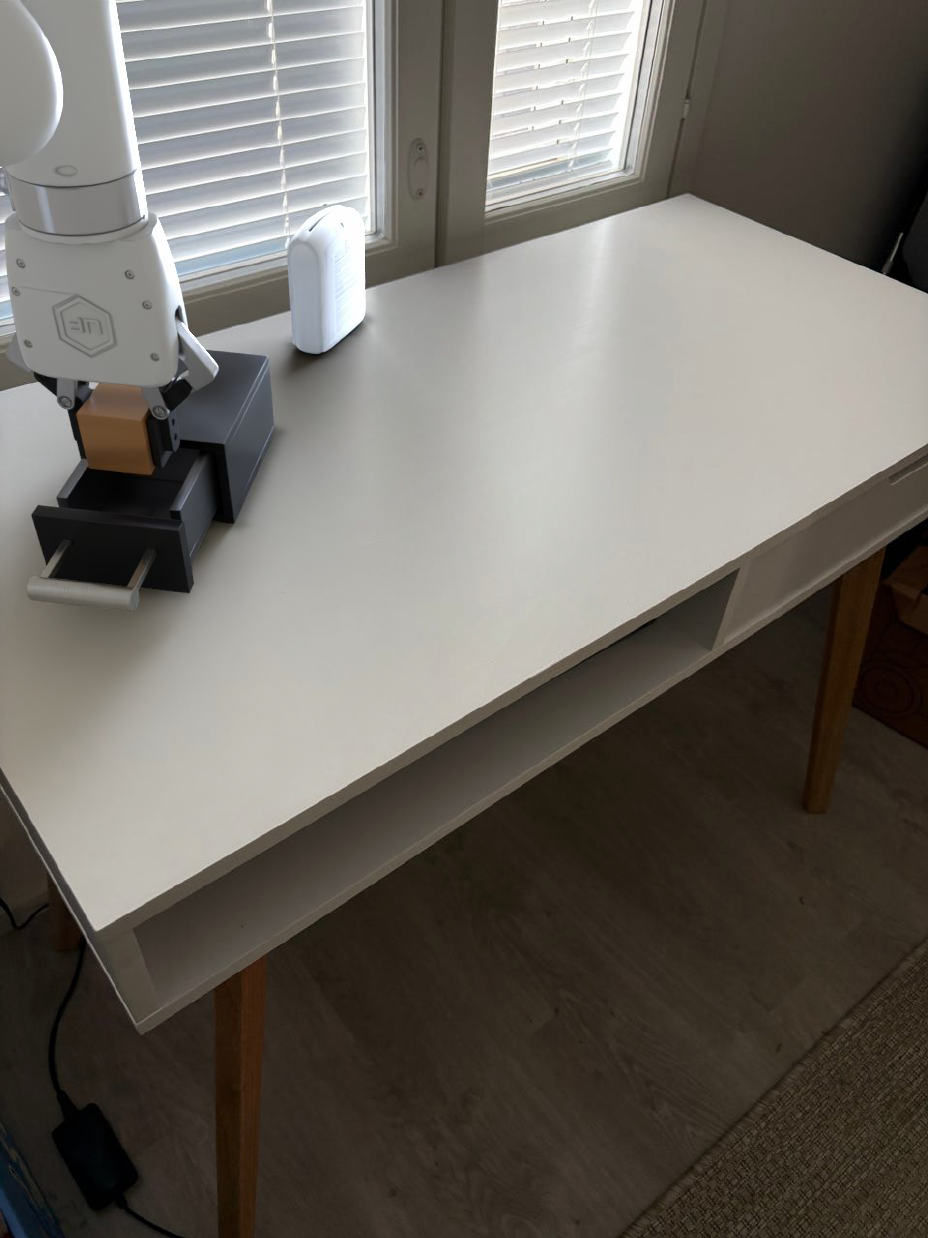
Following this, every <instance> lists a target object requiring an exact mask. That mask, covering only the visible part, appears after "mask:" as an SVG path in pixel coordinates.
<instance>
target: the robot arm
mask: <svg viewBox="0 0 928 1238" xmlns="http://www.w3.org/2000/svg"><path fill="white" fill-rule="evenodd" d="M130 97H131V95H130V90H129V83H128V76H127V70H126V64H125V57H124V51H123V44H122V37H121V29H120V24H119V18H118V11H117V3H116V0H0V193H3V194H4V195H5V196H6V195H7V196H9V200H10V204H11V209H12V211H13V212H14V213H12V214H10V215H8V216H7V217H6V219H5V220H4V250H5V252H4V253H5V267H6V277H7V286H8V294H9V298H10V299H9V300H10V306H11V312H12V313H11V314H12V317H13V324H14V328H15V333H14V335H13V337H12V338H11V340H10V342H9V344H8V345H7V347H6V350H5V352H4V354H5V357H6V358H7V360H8V361H10V362H11V363H13V364H15V365H16V366H18V367H19V368H20V369H22V370H23V371H25V372H26V373H28V374H32V375H33V377H34V379H35V380H36V381H37V382H38V383H39V384H40V385H41V386H42V387H44V388H45V389H47V390H48V392H50V393H51V394H52V395H54V396H55V397H56V402H57V404H58V406H59V407H60V408H62V409H64V410H67V415H68V419H69V423H70V428H71V431H72V436H73V438H74V441H75V442H77V441H78V442H79V446H80V450H81V455H82V458H83V459H87V458H86V453H85V449H84V445H83V441H82V436H81V432H80V428H79V423H78V419H77V415H76V414H77V412H78V411H79V409H80V408H81V407H82V405H83V404H84V403H85V401H86V400H87V399H88V397H89V396H90V394H91V393H92V392H93V390H94V389H95V388H91V387H90V383H95V384H97V383H98V384H99V383H105V384H114V385H124V386H134V387H140V388H141V390H142V393H143V395H144V397H145V400H146V402H147V404H148V407H149V409H150V414H149V416H148V418H147V420H146V426H147V432H148V437H149V443H150V448H151V454H152V459H153V464H154V465H155V467H162V468H163V467H164V466H165V464H166V462H167V461H168V459H169V457H170V455H171V454H172V452H176V451H177V449H178V447H179V444H180V434H179V428H178V421H177V415H176V409H175V408H176V407H177V406H178V405H179V404H181V403H182V402H183V401H184V400H185V399H186V398H187V397H188V396H189V394H191V393H193V392H194V391H197V390H199V389H201V388H202V387H204V386H206V385H207V384H209V383H211V382H212V381H213V380H214V378H215V376H216V375H217V373H218V370H219V367H218V365H217V364H216V363H215V361H214V360H213V359H212V358H211V357H210V355H209V354H208V353H207V352H206V351H205V350H206V348H204V347H203V346H202V345H201V343H200V342H199V341H198V340H197V338H196V337H195V336H194V335H193V334H192V332H191V331H190V330H189V323H188V318H187V313H186V308H185V303H184V298H183V293H182V290H181V285H180V280H179V277H178V273H177V269H176V266H175V263H174V259H173V256H172V252H171V250H170V246H169V244H168V241H167V237H166V235H165V233H164V229H163V227H162V225H161V221H160V220H159V218H158V216H157V214H156V213H154V212H151V211H148V207H147V205H148V204H147V199H146V193H145V187H144V181H143V174H142V168H141V167H142V166H141V161H140V154H139V150H138V149H139V148H138V142H137V136H136V130H135V124H134V116H133V109H132V103H131V98H130ZM178 358H180V359H181V361H182V362H183V363H184V364H185V365H186V366H187V368H188V370H187V371H184V372H182V373H180V374H179V375H178V376H177V377H176V378H174V376H175V375H176V372H177V368H178Z"/></svg>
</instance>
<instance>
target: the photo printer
mask: <svg viewBox="0 0 928 1238" xmlns="http://www.w3.org/2000/svg"><path fill="white" fill-rule="evenodd" d="M364 225H365V224H364V222H363V219H362V217H361V216H360V214H359V212H358V211H356V209H355V208H352V207H346V206H342V205H333V206H330V207H326V208H324V209H322V210H320V211H318V212H317V213H315V214H314V215H312V216H311V217H309V218H308V219H307V220H306V221H305V222H304V223H303V224H302V225H301V226H300V227H299V228H298V230H297V231H296V232H295V233H294V235H293V236H292V238H291V240H290V242H289V244H288V247H287V251H286V260H287V275H288V293H289V295H288V296H289V308H290V309H289V310H290V323H291V324H290V325H291V339H292V343H293V345H294V346H296V348H297V349H298V350H299V351H301V352H304V353H307V354H315V355H316V354H317V355H318V354H321V353H325V352H327V351H329V350H330V349H332V348H333V347H334V346H336V345H337V344H338V343H339V342H340V341H341V340H343V339H344V338H345V337H346V336H347V335H348V334H349V333H350V332H352V331H353V330H354V329H355V328H356V327H357V326H358V325H359V324H360V323H361V322H362V321H363V320H364V318H365V315H366V289H365V288H366V275H365V274H366V272H365V271H366V269H365V267H366V266H365V226H364Z"/></svg>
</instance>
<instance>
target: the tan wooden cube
mask: <svg viewBox="0 0 928 1238" xmlns="http://www.w3.org/2000/svg"><path fill="white" fill-rule="evenodd" d="M93 389H94V390H93V392H92V393H91V394H90V396H89V397H88V399H87V400H86V401H85V403H84V404H83V405H82V407H81V408H80V409H79V411H78V412H77V414H76V415H77V419H78V423H79V428H80V432H81V436H82V441H83V445H84V449H85V453H86V458H87V462H88V466H89V468H90V469H98V470H107V471H117V472H126V473H135V474H144V475H151V474H152V472H153V470H154V469H155V465H154V464H153V459H152V454H151V448H150V443H149V437H148V432H147V426H146V420H147V418H148V416H149V414H150V409H149V407H148V404H147V402H146V400H145V397H144V395H143V393H142V390H141V388H140V387H134V386H124V385H114V384H105V383H98V384H97V385H95V388H93Z"/></svg>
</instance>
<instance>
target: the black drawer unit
mask: <svg viewBox="0 0 928 1238" xmlns="http://www.w3.org/2000/svg"><path fill="white" fill-rule="evenodd" d="M205 351H206V352H207V353H208V354H209V355H210V357H211V358H212V359H213V360H214V361H215V363H216V364H217V365H218V367H219V370H218V373H217V375H216V376H215V378H214V380H213V381H212V382H211V383H209V384H207V385H206V386H204V387H202V388H201V389H199V390H197V391H194V392H193V393H191V394H189V396H188V397H187V398H186V399H185V400H184V401H183V402H182V403H181V404H179V405H178V406H177V407H176V408H175V409H176V415H177V421H178V428H179V434H180V444H179V447H178V448H186V449H195V450H205V451H214V452H216V460H217V467H218V475H219V482H220V490H221V497H222V500H221V502H220V504H219V506H218V509H217V511H216V513H215V515H214V517H213V519H212V521H211V523H222V524H231V525H234V524H236V521H237V519H238V516H239V515H240V512H241V509H242V508H243V505H244V503H245V501H246V498H247V496H248V494H249V492H250V489H251V487H252V484H253V482H254V480H255V478H256V476H257V473H258V471H259V469H260V467H261V464H262V462H263V460H264V457H265V455H266V454H267V451H268V449H269V446H270V444H271V442H272V440H273V437H274V435H275V433H276V429H275V418H274V408H273V407H274V406H273V396H272V394H273V393H272V384H271V383H272V382H271V373H270V372H271V371H270V360H269V359H270V357H269V355H262V354H252V353H243V352H233V351H223V350H216V349H215V350H214V349H205ZM187 370H188V368H187V366H186V365H185V364H184V363H183V362H182V361H181V359H180V358H178V368H177V372H176V375H175V376H174V378H176V377H177V376H178V375H179V374H180V373H182V372H184V371H187ZM76 445H77V449H78V454H79V457H80V460H81V459H82V455H81V450H80V446H79V442H78V441H76Z"/></svg>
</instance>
